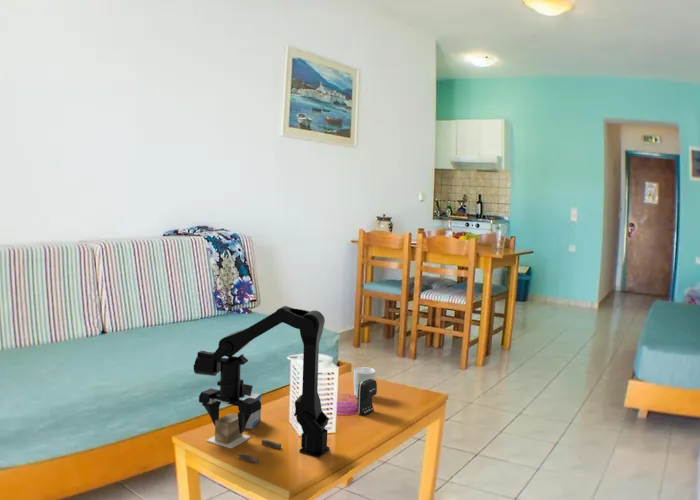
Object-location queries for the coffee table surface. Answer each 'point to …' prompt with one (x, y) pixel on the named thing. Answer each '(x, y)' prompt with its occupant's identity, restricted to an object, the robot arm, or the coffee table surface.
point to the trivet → (230, 445)
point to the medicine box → (254, 416)
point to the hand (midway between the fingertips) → (228, 429)
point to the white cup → (362, 376)
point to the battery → (366, 396)
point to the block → (227, 429)
